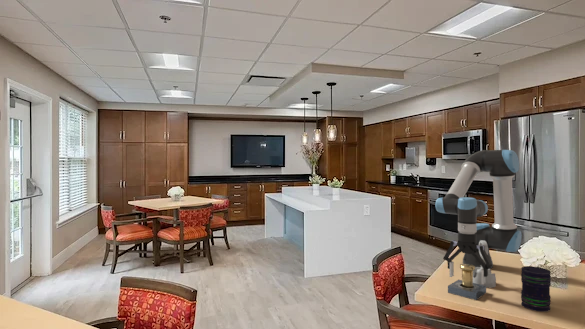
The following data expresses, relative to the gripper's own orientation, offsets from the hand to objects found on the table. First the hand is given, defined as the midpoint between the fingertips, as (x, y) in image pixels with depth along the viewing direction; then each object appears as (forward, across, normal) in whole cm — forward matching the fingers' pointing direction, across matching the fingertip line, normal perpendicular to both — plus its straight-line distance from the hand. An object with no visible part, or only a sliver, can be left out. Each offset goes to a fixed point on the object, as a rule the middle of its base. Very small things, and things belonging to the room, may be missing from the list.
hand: (467, 279), depth 159 cm
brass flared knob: (+6, 0, 0) cm, 6 cm away
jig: (+6, 0, 0) cm, 6 cm away
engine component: (+6, +1, +18) cm, 19 cm away
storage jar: (+6, +25, +4) cm, 26 cm away
